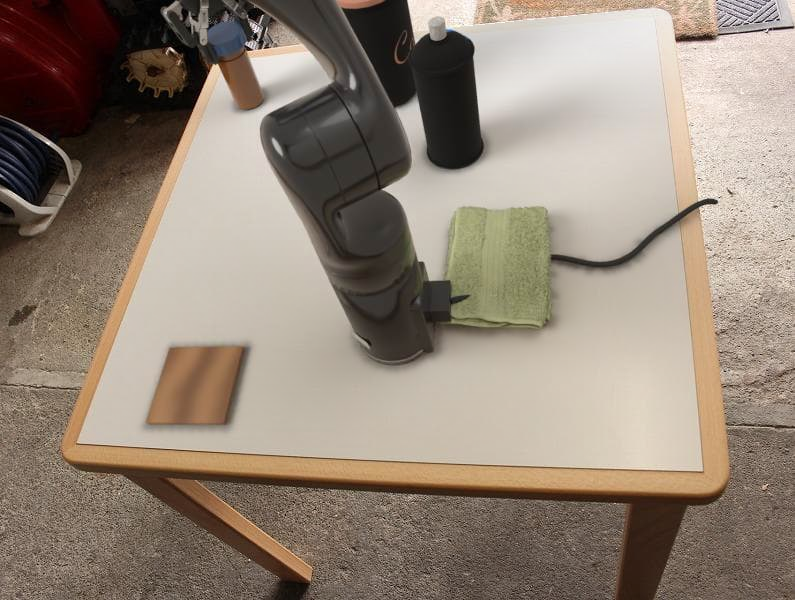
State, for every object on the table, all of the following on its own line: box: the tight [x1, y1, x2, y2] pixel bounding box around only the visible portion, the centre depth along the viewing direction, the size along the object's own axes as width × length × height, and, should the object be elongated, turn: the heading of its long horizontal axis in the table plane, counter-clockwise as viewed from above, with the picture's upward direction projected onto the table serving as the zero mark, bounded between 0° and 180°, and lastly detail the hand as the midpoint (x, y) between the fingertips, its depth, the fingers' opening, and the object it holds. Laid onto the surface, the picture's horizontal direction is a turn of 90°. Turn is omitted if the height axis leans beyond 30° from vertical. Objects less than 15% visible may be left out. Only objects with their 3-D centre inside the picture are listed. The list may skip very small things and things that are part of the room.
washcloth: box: [439, 205, 554, 330], centre depth 73 cm, size 13×18×3 cm
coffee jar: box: [337, 0, 417, 107], centre depth 91 cm, size 11×11×18 cm
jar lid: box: [207, 20, 247, 56], centre depth 94 cm, size 6×6×2 cm
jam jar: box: [217, 45, 265, 111], centre depth 99 cm, size 5×5×11 cm
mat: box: [145, 345, 246, 426], centre depth 73 cm, size 10×10×1 cm
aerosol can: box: [408, 16, 485, 170], centre depth 79 cm, size 8×8×20 cm
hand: (231, 50), depth 96 cm, fingers closed on jar lid, 6 cm apart
